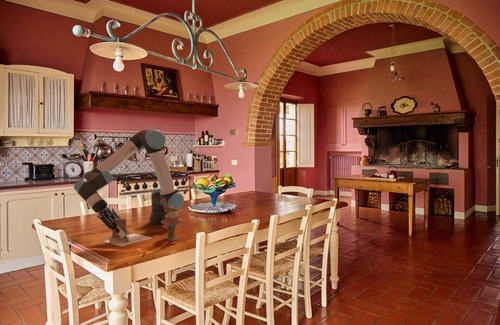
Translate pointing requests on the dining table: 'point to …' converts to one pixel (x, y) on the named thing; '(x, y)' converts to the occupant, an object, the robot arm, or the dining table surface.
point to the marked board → (131, 239)
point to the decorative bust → (170, 220)
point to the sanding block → (115, 235)
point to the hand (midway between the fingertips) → (126, 235)
